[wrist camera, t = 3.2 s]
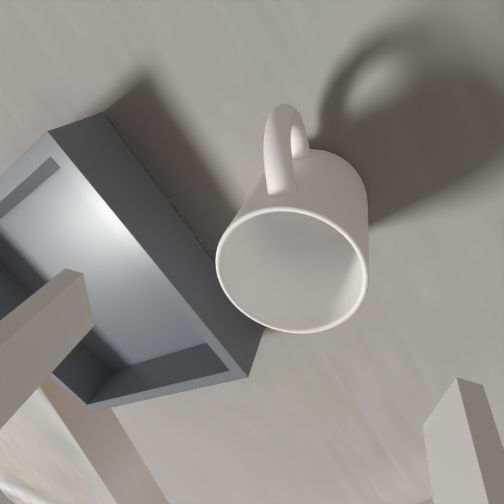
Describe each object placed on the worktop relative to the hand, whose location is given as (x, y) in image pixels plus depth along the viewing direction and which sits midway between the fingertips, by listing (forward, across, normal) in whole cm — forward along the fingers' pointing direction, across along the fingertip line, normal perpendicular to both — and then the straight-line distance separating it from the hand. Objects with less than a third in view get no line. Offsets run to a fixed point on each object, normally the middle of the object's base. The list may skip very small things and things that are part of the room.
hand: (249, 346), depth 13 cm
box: (+17, -19, -15) cm, 29 cm away
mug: (+17, 0, 0) cm, 17 cm away
